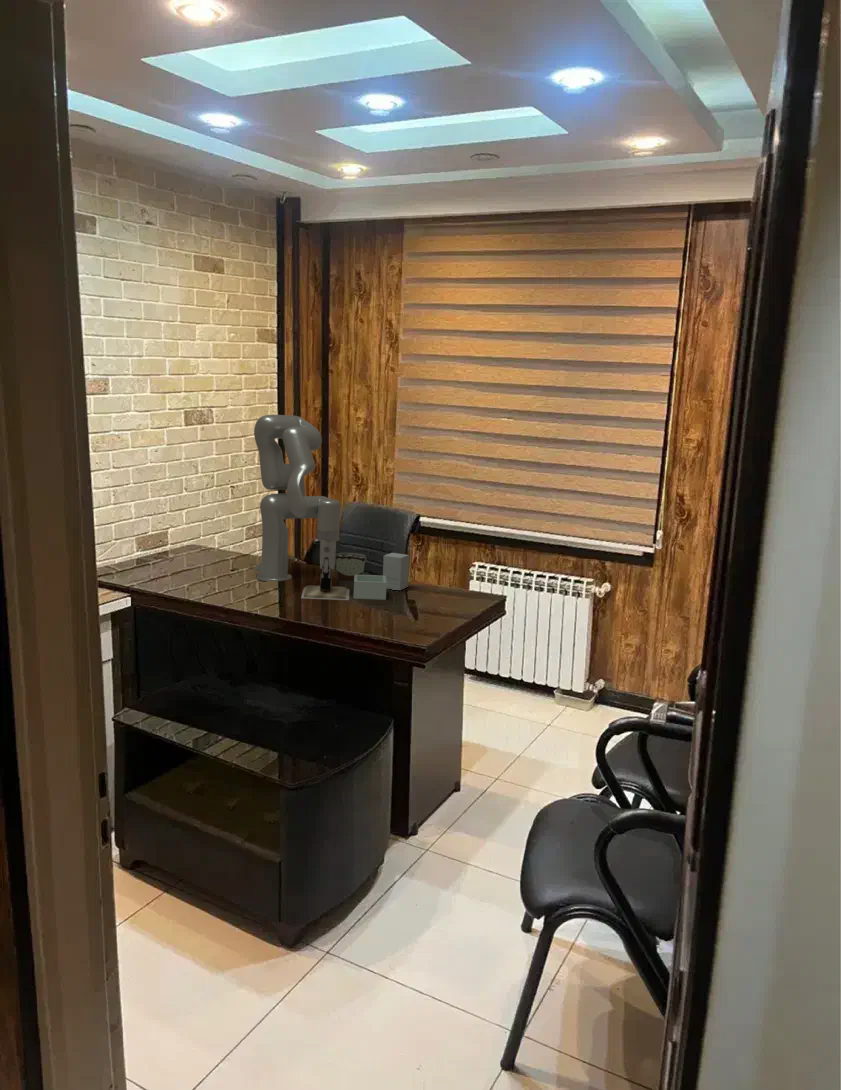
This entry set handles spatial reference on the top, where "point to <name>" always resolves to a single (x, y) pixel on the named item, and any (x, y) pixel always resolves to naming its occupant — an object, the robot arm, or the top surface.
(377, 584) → the open square bin
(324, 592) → the lid
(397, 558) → the supplement box
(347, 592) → the mat
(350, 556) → the grey half-round piece
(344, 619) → the top surface
